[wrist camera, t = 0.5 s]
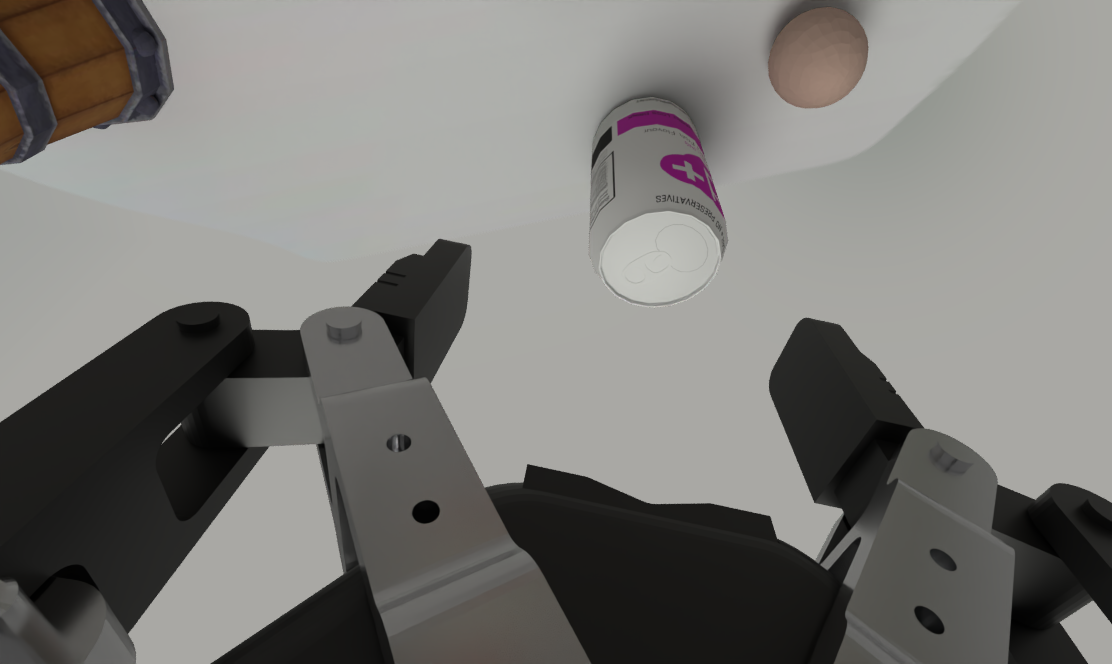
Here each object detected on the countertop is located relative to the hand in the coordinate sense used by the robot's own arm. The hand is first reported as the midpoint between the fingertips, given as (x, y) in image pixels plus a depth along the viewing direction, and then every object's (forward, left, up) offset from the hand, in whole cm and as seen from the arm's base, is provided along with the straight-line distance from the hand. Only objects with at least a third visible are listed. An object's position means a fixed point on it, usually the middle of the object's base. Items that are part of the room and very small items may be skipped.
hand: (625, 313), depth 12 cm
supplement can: (+9, -5, -29) cm, 31 cm away
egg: (+11, +7, -29) cm, 32 cm away
